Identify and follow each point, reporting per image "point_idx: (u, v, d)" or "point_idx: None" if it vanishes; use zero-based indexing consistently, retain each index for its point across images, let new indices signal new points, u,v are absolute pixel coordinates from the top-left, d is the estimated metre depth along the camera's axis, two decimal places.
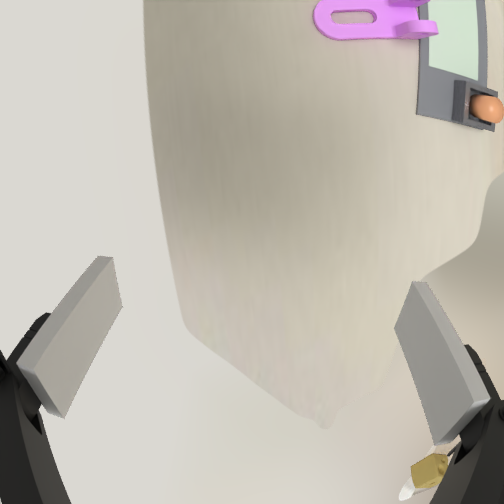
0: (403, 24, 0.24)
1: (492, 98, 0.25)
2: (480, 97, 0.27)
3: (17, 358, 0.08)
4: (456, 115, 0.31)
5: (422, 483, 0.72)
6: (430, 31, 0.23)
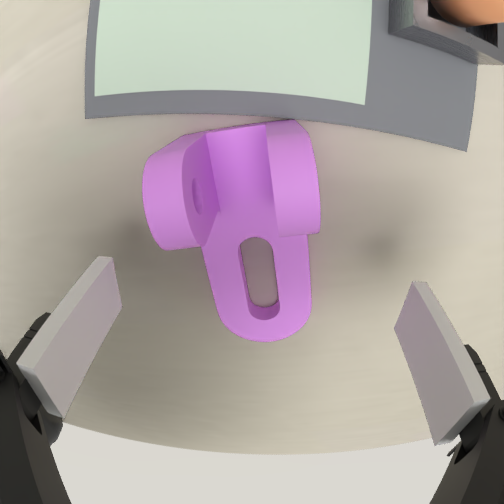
0: None
1: None
2: (461, 4, 0.07)
3: (17, 358, 0.08)
4: (475, 59, 0.11)
5: None
6: (316, 194, 0.10)
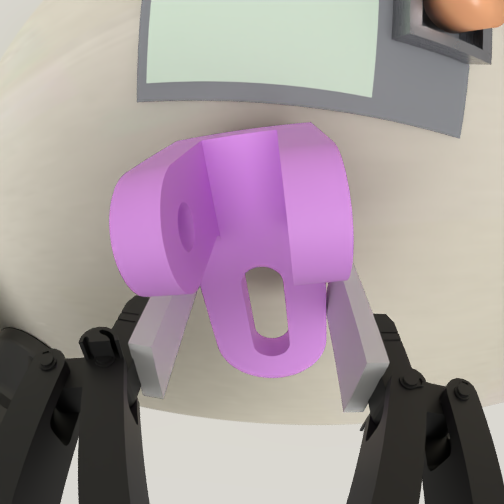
0: None
1: None
2: (448, 15, 0.10)
3: None
4: (465, 60, 0.13)
5: None
6: (348, 236, 0.07)
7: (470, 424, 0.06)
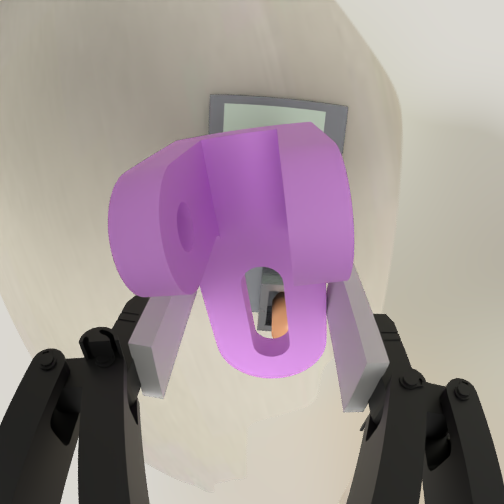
0: None
1: (285, 320, 0.26)
2: (277, 308, 0.28)
3: None
4: (258, 311, 0.32)
5: None
6: (349, 236, 0.07)
7: (470, 424, 0.06)
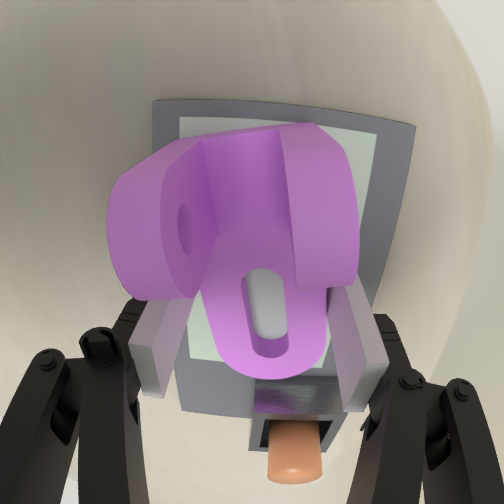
0: None
1: (288, 469, 0.14)
2: (276, 443, 0.16)
3: None
4: (250, 424, 0.20)
5: None
6: (354, 241, 0.07)
7: (470, 424, 0.06)
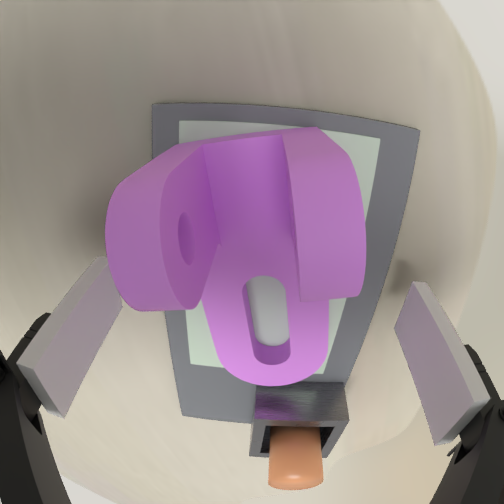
0: None
1: (289, 475, 0.14)
2: (277, 450, 0.16)
3: (17, 358, 0.08)
4: (251, 430, 0.20)
5: None
6: (361, 253, 0.06)
7: None
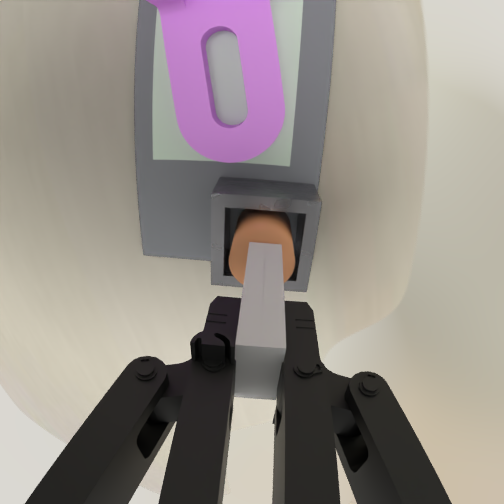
0: None
1: (251, 238, 0.15)
2: (240, 226, 0.17)
3: None
4: None
5: None
6: None
7: (384, 422, 0.07)
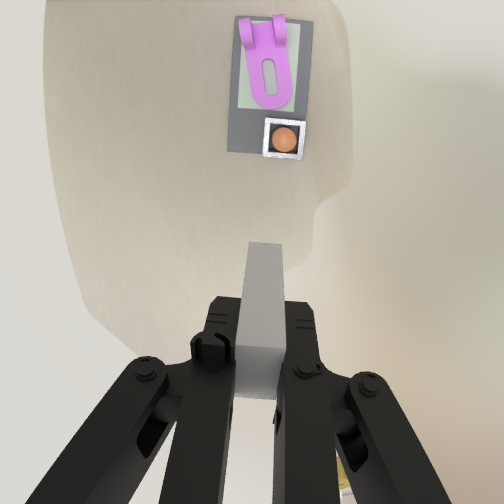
0: (277, 41, 0.34)
1: (280, 130, 0.40)
2: (275, 130, 0.42)
3: None
4: None
5: None
6: (284, 23, 0.31)
7: (384, 422, 0.07)
